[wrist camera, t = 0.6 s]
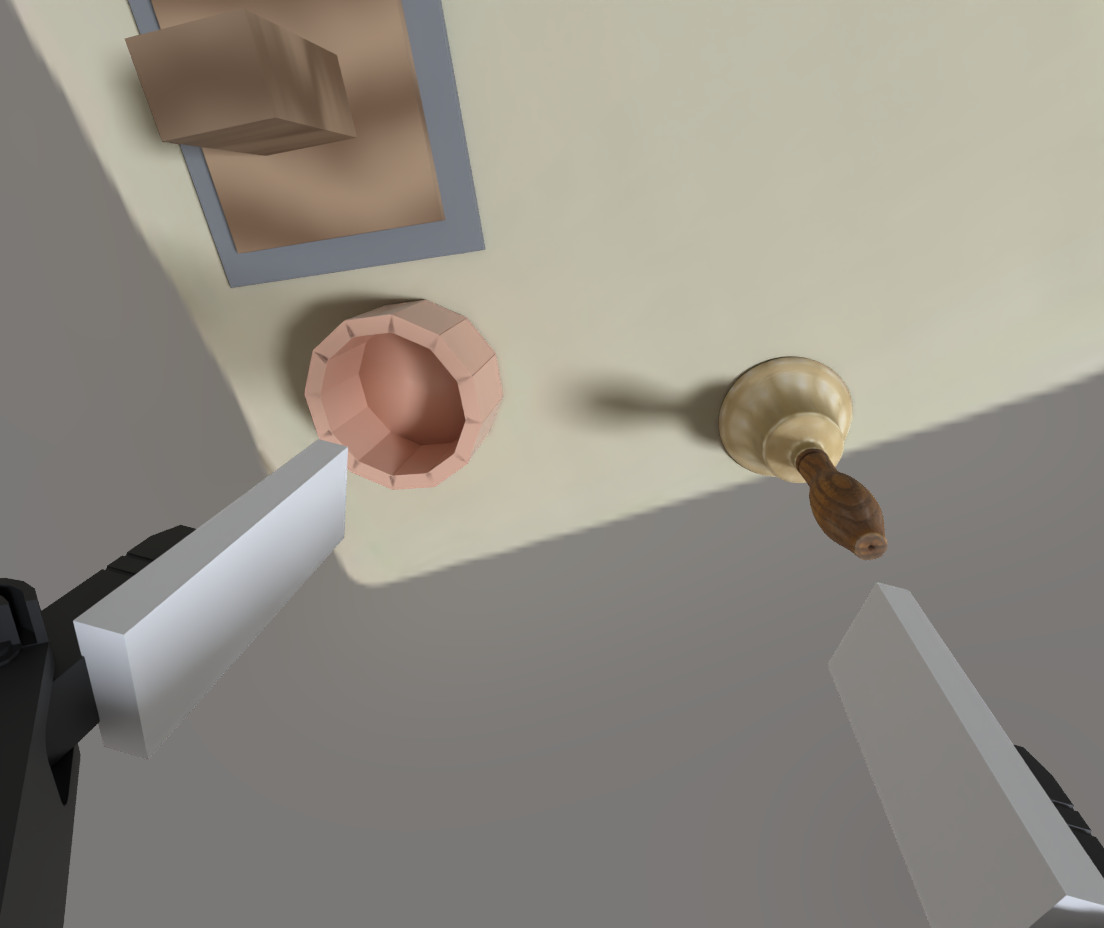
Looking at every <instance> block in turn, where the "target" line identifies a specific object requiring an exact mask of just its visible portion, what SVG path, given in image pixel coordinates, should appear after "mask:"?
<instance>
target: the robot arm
mask: <svg viewBox="0 0 1104 928" xmlns="http://www.w3.org/2000/svg"><path fill="white" fill-rule="evenodd" d="M347 458H348V447H347V446H343V445H340V444H336V443H332V442H328V441H324V440H320V439H318V440H317V441H315V442H314V443H313V444H311V445H310V446H308V447H307V448H306V449H304V450H303V451H302V452H300V453H299V454H298V455H296V456H295V457H294V458H292V459H291V460H290V461H288V462H287V463H285V464H284V465H283V466H281V467H280V468H279V469H277V470H276V471H275V472H273V473H272V474H271V475H269V476H268V477H267V478H265V479H264V480H263V481H261V482H260V483H259V484H257V485H256V486H254V487H253V488H252V489H250V490H249V491H248V492H246V493H245V494H244V495H242V496H241V497H240V498H238V499H237V500H236V501H234V502H233V503H232V504H230V505H229V506H227V507H226V508H225V509H223V510H222V511H221V512H219V513H218V514H217V515H215V516H214V517H213V518H211V519H210V520H209V521H207V522H206V523H204V524H203V525H202V526H200V527H199V528H198V529H194V528H191V527H187V526H183V525H179V526H177V527H174V528H171V529H169V530H166V531H163V532H160V533H158V534H155V535H153V536H150V537H149V538H147V539H146V540H144V541H143V542H141V543H140V544H139V545H137V546H136V547H134V548H133V549H131V550H130V551H128V552H127V554H126V556H121V557H120V558H118V559H117V560H115V561H114V562H112V563H111V564H109V565H108V566H107V569H106V570H101V571H99V572H98V573H96V574H95V575H93V576H92V577H90V578H89V579H87V580H86V581H85V582H83V583H82V584H80V585H79V586H77V587H76V588H74V589H73V590H71V591H70V592H68V593H67V594H65V595H64V596H63V597H61V598H60V599H58V600H57V601H55V602H54V603H53V604H51V605H49V606H48V607H47V608H45V609H44V610H42V611H41V609H40V606H39V602H38V599H37V595H36V591H35V589H34V588H33V587H31V586H30V585H29V584H27V583H25V582H24V581H19V580H14V579H8V578H0V928H63V924H64V914H65V904H66V895H67V894H66V893H67V884H68V875H69V865H70V855H71V845H72V835H73V825H74V815H75V804H76V795H77V785H78V774H79V765H80V751H79V746H78V742H79V741H80V740H81V739H82V738H83V737H84V736H85V735H86V734H87V733H88V732H89V731H90V730H92V729H93V728H94V727H95V726H96V724H99V728H100V732H101V736H102V740H103V744H104V747H107V748H110V749H114V750H117V751H121V752H124V753H128V754H131V755H135V756H138V757H142V758H146V759H149V758H150V757H151V755H152V754H153V753H154V752H155V751H156V750H157V749H158V748H159V746H160V745H161V744H162V743H163V742H164V741H165V740H166V738H167V737H168V736H169V735H170V734H171V733H172V732H173V731H174V729H175V728H176V727H177V726H178V725H179V724H180V723H181V722H182V720H183V719H184V718H185V717H186V716H187V715H188V714H189V713H190V711H191V710H192V709H193V708H194V707H195V706H196V705H197V703H198V702H199V701H200V700H201V699H202V698H203V697H204V696H205V694H206V693H207V692H208V691H209V690H210V689H211V688H212V686H213V685H214V684H215V683H216V682H217V681H218V680H219V678H220V677H221V676H222V675H223V674H224V673H225V672H226V671H227V669H228V668H229V667H230V666H231V665H232V664H233V662H234V661H235V660H236V659H237V658H238V657H239V656H240V655H241V654H242V652H243V651H244V650H245V649H246V648H247V647H248V645H250V643H251V642H252V641H253V640H254V639H255V638H256V637H257V636H258V634H259V633H260V632H261V631H262V630H263V629H264V628H265V626H266V625H267V624H268V623H269V622H270V621H271V620H272V619H273V617H274V616H275V615H276V614H277V613H278V612H279V610H281V608H282V607H283V606H284V605H285V604H286V603H287V602H288V600H289V599H290V598H291V597H292V596H293V595H294V594H295V593H296V591H297V590H298V589H299V588H300V587H301V585H303V583H304V582H305V581H306V580H307V579H308V578H309V576H310V575H311V574H312V573H313V572H314V571H315V570H316V569H317V568H318V567H319V565H320V564H321V563H322V562H323V561H324V560H325V559H326V557H327V556H328V555H329V554H330V553H331V552H332V551H333V550H334V548H335V547H336V546H337V545H338V544H339V543H340V542H341V540H342V539H343V538H344V530H345V506H346V482H347ZM828 668H829V670H830V672H831V675H832V678H833V680H834V683H835V685H836V688H837V690H838V693H839V696H840V698H841V701H842V703H843V706H844V708H845V711H846V713H847V715H848V718H849V721H850V724H851V726H852V728H853V731H854V734H855V736H856V739H857V741H858V744H859V746H860V749H861V751H862V754H863V756H864V759H865V762H866V764H867V767H868V769H869V772H870V774H871V777H872V779H873V782H874V784H875V787H876V789H877V792H878V795H879V797H880V800H881V802H882V805H883V807H884V810H885V812H886V815H887V817H888V820H889V823H890V825H891V828H892V830H893V832H894V835H895V838H896V840H897V843H898V845H899V848H900V850H901V853H902V856H903V858H904V861H905V863H906V866H907V868H908V871H909V873H910V876H911V878H912V881H913V884H914V886H915V889H916V891H917V894H918V896H919V899H920V901H921V904H922V906H923V909H924V912H925V914H926V916H927V919H928V921H929V924H930V927H931V928H1104V848H1103V846H1102V845H1101V844H1100V842H1099V841H1098V839H1097V838H1096V837H1094V836H1092V835H1091V829H1090V828H1089V827H1088V825H1087V824H1086V823H1085V821H1084V820H1083V818H1082V817H1081V815H1080V814H1079V812H1078V811H1074V810H1073V806H1074V805H1073V804H1072V803H1071V801H1070V800H1069V798H1068V797H1067V796H1066V794H1065V793H1064V791H1063V790H1062V788H1061V787H1060V786H1059V784H1058V783H1057V781H1056V780H1055V779H1054V777H1053V776H1052V775H1051V774H1050V773H1049V772H1048V771H1047V770H1046V769H1045V768H1044V767H1043V766H1042V765H1041V764H1040V763H1039V762H1038V761H1037V760H1036V759H1035V758H1034V757H1033V756H1032V755H1030V753H1029V752H1028V751H1026V749H1025V748H1023V747H1020V746H1017V745H1013V744H1012V742H1011V741H1010V739H1009V738H1008V737H1007V735H1006V733H1005V732H1004V730H1003V729H1002V727H1001V726H1000V724H999V723H998V722H997V720H996V719H995V717H994V716H993V714H992V713H991V711H990V710H989V708H988V707H987V705H986V704H985V702H984V701H983V699H982V698H981V696H980V695H979V693H978V692H977V690H976V689H975V688H974V686H973V684H972V683H971V682H970V680H969V679H968V677H967V676H966V675H965V673H964V671H963V670H962V668H961V667H960V665H959V664H958V662H957V661H956V659H955V658H954V656H953V655H952V654H951V652H950V650H949V649H948V648H947V646H946V645H945V643H944V642H943V640H942V639H941V637H940V636H939V634H938V633H937V631H936V630H935V628H934V627H933V625H932V624H931V622H930V621H929V619H928V618H927V616H926V615H925V614H924V612H923V611H922V609H921V608H920V606H919V605H918V603H917V602H916V600H915V599H914V598H913V596H912V594H911V593H910V591H909V590H905V589H902V588H897V587H893V586H890V585H886V584H882V583H878V582H877V583H876V584H875V586H874V587H873V589H872V591H871V592H870V594H869V596H868V598H867V599H866V601H865V602H864V604H863V606H862V608H861V609H860V611H859V613H858V614H857V616H856V618H855V619H854V621H853V623H852V624H851V626H850V628H849V629H848V631H847V633H846V634H845V636H844V638H843V639H842V641H841V643H840V645H839V646H838V648H837V650H836V651H835V653H834V655H833V656H832V658H831V660H830V661H829V663H828Z"/></svg>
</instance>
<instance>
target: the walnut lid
mask: <svg viewBox="0 0 1104 928" xmlns="http://www.w3.org/2000/svg"><path fill="white" fill-rule="evenodd" d="M151 2H152V5H153V8H154V11H155V13H156V16H157V19H158V22H159V25H160V28H161V29H160V30H156V31H153V32H149V33H145V34H141V35H137V36H133V37H130V38H126V39H125V41H126V44H127V47H128V49H129V52H130V55H131V58H132V60H133V63H134V66H135V68H136V71H137V74H138V77H139V79H140V82H141V85H142V87H143V90H144V93H145V96H146V98H147V101H148V104H149V107H150V109H151V112H152V115H153V117H154V120H155V123H156V126H157V128H158V131H159V134H160V137H161V139H162V142H169V143H176V144H183V145H191V146H198V147H202V150H203V153H204V156H205V159H206V162H207V165H208V167H209V170H210V173H211V176H212V179H213V182H214V185H215V188H216V191H217V194H218V197H219V199H220V202H221V205H222V208H223V211H224V214H225V217H226V220H227V223H228V226H229V228H230V231H231V234H232V237H233V240H234V243H235V246H236V249H237V252H238V254H239V253H248V252H254V251H260V250H266V249H272V248H278V247H284V246H290V245H297V244H303V243H309V242H315V241H321V240H327V239H333V238H339V237H345V236H352V235H358V234H364V233H370V232H376V231H382V230H388V229H394V228H400V227H407V226H413V225H419V224H425V223H431V222H437V221H443V220H445V215H444V210H443V205H442V200H441V195H440V190H439V185H438V180H437V175H436V170H435V165H434V160H433V155H432V150H431V145H430V140H429V135H428V130H427V125H426V120H425V116H424V111H423V106H422V101H421V96H420V91H419V86H418V81H417V76H416V71H415V66H414V61H413V56H412V51H411V46H410V41H409V36H408V31H407V26H406V21H405V16H404V11H403V6H402V1H401V0H151Z"/></svg>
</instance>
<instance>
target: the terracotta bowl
mask: <svg viewBox="0 0 1104 928" xmlns="http://www.w3.org/2000/svg"><path fill="white" fill-rule="evenodd" d="M304 393H305V394H304V395H305V398H306V401H307V404H308V407H309V410H310V413H311V416H312V419H313V422H314V425H315V428H316V431H317V434H318V437H319V438H320V439H321V440H324V441H328V442H332V443H336V444H340V445H343V446H347V447H348V458H347V468H348V469H349V470H350V472H352V473H354V474H357V475H359V476H362V477H364V478H366V479H369V480H371V481H373V482H376V483H378V484H380V485H383V486H385V487H388V488H390V489H393V490H395V489H410V488H426V487H435V486H437V485H438V484H440V483H441V482H442V481H444V480H445V479H447V478H448V477H449V476H451V475H452V474H454V473H455V472H456V471H458V470H459V469H461V468H462V467H463V466H465V465H466V464H468V462H469V461H470V459H471V458H472V456H473V455H474V453H475V452H476V451H477V449H478V448H479V446H480V445H481V443H482V442H483V440H484V439H485V438H486V436H487V435H488V433H489V432H490V430H491V427H492V424H493V422H494V419H495V416H496V414H497V411H498V408H499V406H500V403H501V400H502V398H503V391H502V385H501V380H500V374H499V369H498V363H497V358H496V354H495V352H494V351H493V349H492V348H491V347H490V346H489V344H488V343H487V342H486V341H485V339H484V338H483V337H482V336H481V334H480V333H479V332H478V331H477V329H476V328H475V327H474V326H473V324H472V323H471V322H470V321H469V319H468V318H467V317H464V316H462V315H460V314H458V313H455V312H453V311H451V310H448V309H446V308H444V307H441V306H439V305H437V304H435V303H432V302H430V301H428V300H420V301H413V302H405V303H398V304H391V305H384V306H382V307H379V308H376V309H374V310H371V311H368V312H366V313H363V314H360V315H358V316H355V317H352V318H350V319H347V320H344V321H343V322H342V323H341V324H340V325H339V326H338V327H337V328H336V329H335V330H334V331H333V332H332V333H330V334H329V335H328V336H327V337H326V338H325V339H324V340H323V341H322V342H321V343H320V344H319V345H318V346H317V347H316V348H315V349H314V350H313V351H312V356H311V362H310V367H309V372H308V377H307V382H306V387H305V392H304Z"/></svg>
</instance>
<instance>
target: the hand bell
mask: <svg viewBox="0 0 1104 928" xmlns="http://www.w3.org/2000/svg"><path fill="white" fill-rule="evenodd" d="M852 417H853V404H852V399H851V395H850V392H849V390H848V388H847V386H846V384H845V383H844V381H843V380H842V378H841V377H840V376H839V375H838V374H837V373H836V372H834V371H833V370H832V369H831V368H829V367H828V366H826V365H824V364H822V363H820V362H817V361H814V360H811V359H808V358H801V357H784V358H778V359H774V360H770V361H767V362H765V363H762V364H760V365H758V366H756V367H754V368H752V369H751V370H749V371H748V372H746V373H745V374H744V375H742V376H741V377H740V378H739V379H738V380H737V381H736V382H735V384H734V385H733V386H732V387H731V388H730V390H729V391H728V393H727V395H726V397H725V399H724V401H723V403H722V406H721V409H720V414H719V432H720V436H721V440H722V442H723V445H724V447H725V449H726V450H727V452H728V453H729V454H730V456H731V457H732V458H733V459H734V460H735V461H736V462H737V463H738V464H740V465H741V466H743V467H744V468H746V469H748V470H750V471H752V472H754V473H758V474H761V475H766V476H774V477H778V478H780V479H783V480H785V481H788V482H794V483H806V482H807V484H808V485H809V487H810V492H809V499H810V505H811V508H812V511H813V514H814V517H815V519H816V521H817V523H818V524H819V526H820V527H821V528H822V530H823V531H824V533H825V534H826V535H827V536H828V537H829V538H830V539H832V540H833V541H834V542H836V543H838V544H839V545H841V546H843V547H845V548H846V549H848V550H850V551H851V552H853V553H854V554H855V555H856V556H858V557H859V558H861V559H863V560H871V559H876V558H879V557H881V556H882V555H883V554H884V553H885V552H886V550H887V540H886V538H885V534H884V520H883V515H882V511H881V508H880V506H879V504H878V502H877V501H876V500H875V498H874V497H873V495H872V494H871V493H870V492H869V490H867V489H866V488H865V487H864V486H863V485H862V484H861V483H859V482H858V481H857V480H855V479H853V478H852V477H850V476H848V475H846V474H843V473H840V472H838V471H837V470H836V468H835V466H836V465H837V463H838V462H839V460H840V458H841V456H842V453H843V449H844V440H845V439H846V437H847V435H848V432H849V429H850V426H851V423H852Z"/></svg>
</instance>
